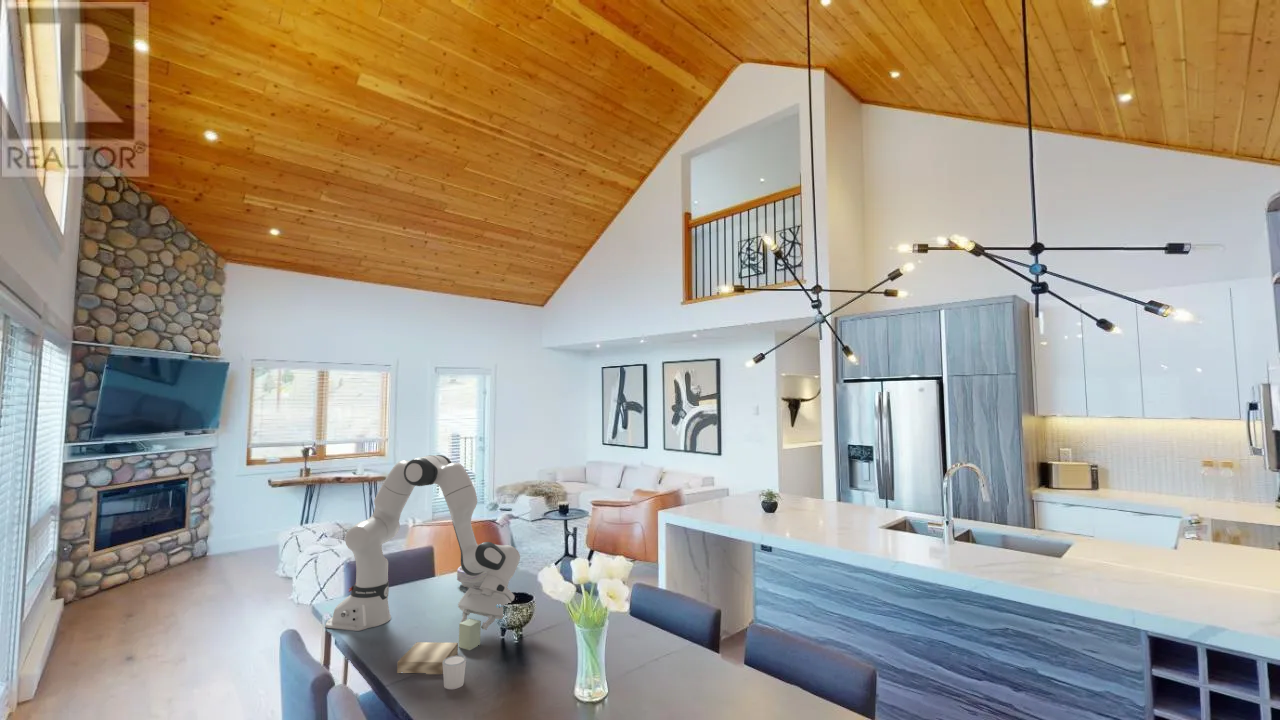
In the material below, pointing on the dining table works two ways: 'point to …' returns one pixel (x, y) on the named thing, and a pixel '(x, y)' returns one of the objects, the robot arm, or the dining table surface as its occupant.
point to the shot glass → (454, 671)
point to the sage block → (469, 634)
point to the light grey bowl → (470, 578)
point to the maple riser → (426, 657)
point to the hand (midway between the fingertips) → (473, 626)
